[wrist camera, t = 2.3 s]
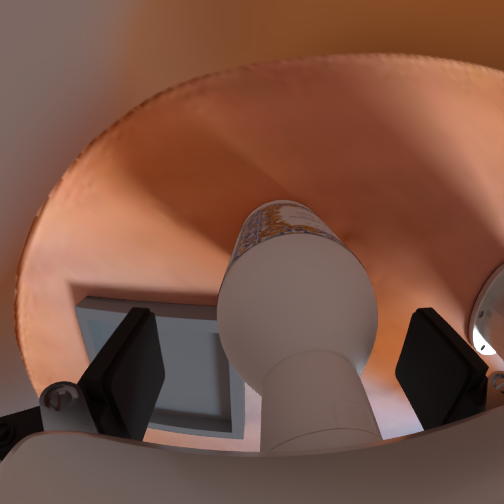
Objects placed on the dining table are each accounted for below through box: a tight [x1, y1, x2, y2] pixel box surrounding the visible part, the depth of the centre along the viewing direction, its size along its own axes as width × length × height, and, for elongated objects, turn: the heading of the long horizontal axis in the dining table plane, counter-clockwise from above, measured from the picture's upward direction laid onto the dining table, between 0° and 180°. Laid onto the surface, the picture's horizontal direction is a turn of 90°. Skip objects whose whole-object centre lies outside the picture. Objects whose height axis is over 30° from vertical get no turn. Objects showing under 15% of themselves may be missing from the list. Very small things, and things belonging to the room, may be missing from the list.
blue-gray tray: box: [75, 296, 245, 439], centre depth 27 cm, size 16×16×2 cm
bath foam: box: [217, 200, 383, 452], centre depth 14 cm, size 7×7×20 cm
